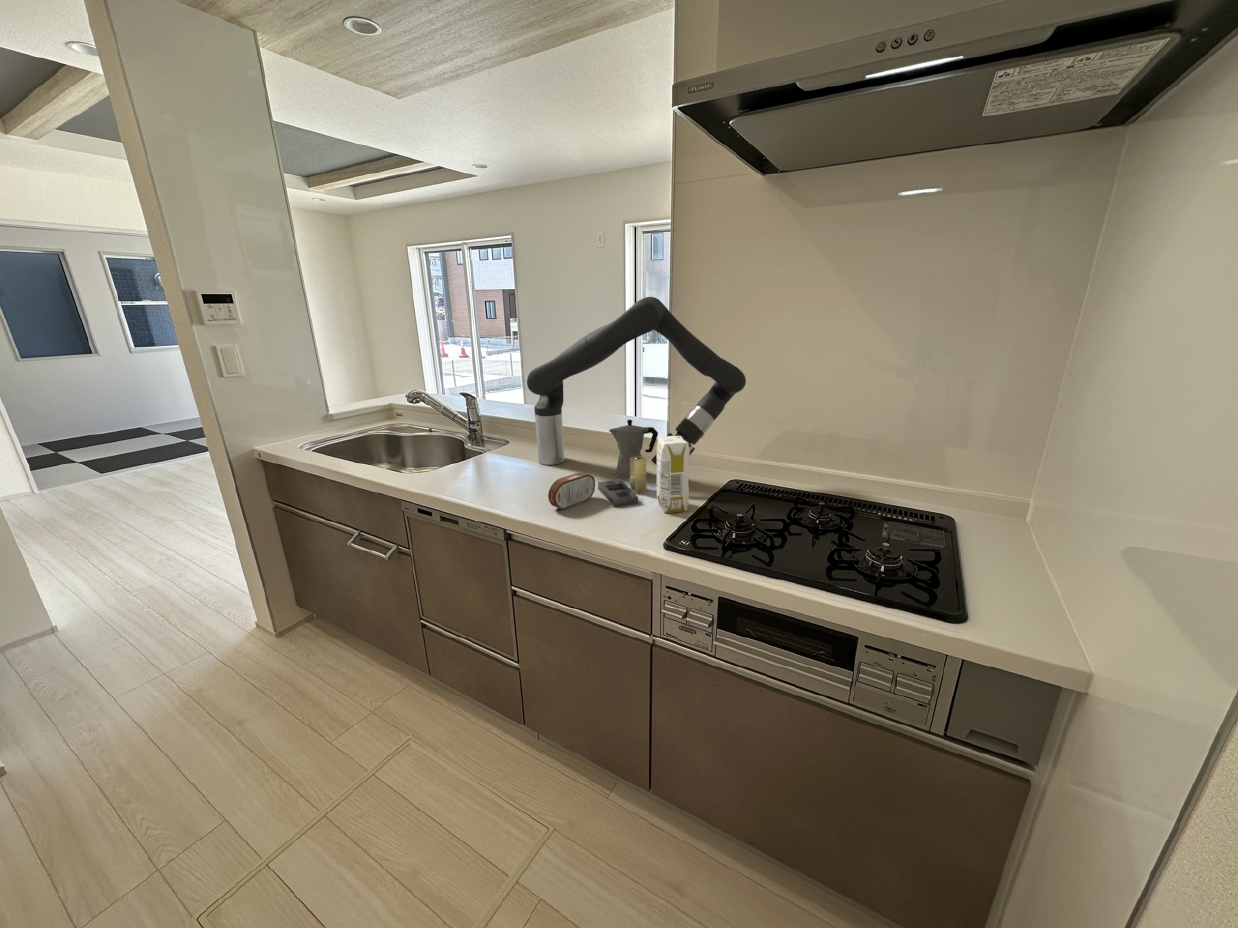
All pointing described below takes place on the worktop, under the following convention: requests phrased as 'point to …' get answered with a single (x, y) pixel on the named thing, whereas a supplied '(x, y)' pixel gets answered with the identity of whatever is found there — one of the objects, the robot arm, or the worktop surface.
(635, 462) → the wooden post with button
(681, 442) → the juice carton
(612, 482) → the grey base with slots
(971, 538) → the worktop surface
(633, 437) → the coffeepot
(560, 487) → the tin
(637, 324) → the robot arm
